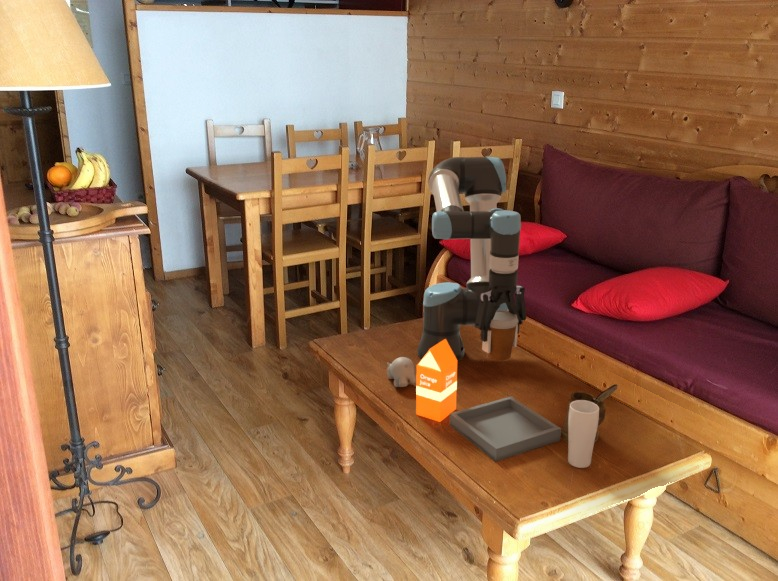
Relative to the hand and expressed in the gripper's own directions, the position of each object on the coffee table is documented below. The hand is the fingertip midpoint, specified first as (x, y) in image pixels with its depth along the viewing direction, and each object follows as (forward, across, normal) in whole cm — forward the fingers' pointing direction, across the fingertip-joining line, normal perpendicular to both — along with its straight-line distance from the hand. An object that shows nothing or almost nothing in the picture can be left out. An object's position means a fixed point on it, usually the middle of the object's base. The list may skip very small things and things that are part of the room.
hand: (499, 348), depth 193 cm
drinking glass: (+15, -3, -36) cm, 40 cm away
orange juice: (+16, -19, +2) cm, 25 cm away
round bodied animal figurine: (+16, -19, +22) cm, 33 cm away
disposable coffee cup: (+3, 0, 0) cm, 3 cm away
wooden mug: (+15, +6, -30) cm, 34 cm away
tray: (+15, -10, -16) cm, 25 cm away
